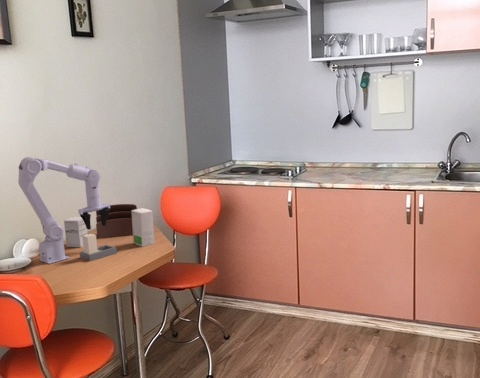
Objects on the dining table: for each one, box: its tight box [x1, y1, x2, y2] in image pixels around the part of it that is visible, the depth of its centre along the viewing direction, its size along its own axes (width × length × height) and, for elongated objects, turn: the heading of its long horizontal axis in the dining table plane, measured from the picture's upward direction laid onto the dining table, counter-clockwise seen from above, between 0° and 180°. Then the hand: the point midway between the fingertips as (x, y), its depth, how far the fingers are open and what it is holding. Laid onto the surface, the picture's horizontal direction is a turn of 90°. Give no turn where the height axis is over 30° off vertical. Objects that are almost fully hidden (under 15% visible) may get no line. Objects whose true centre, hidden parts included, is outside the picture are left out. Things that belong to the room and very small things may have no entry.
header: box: [79, 244, 118, 262], centre depth 229 cm, size 13×8×3 cm, turn 137°
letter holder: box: [95, 203, 138, 239], centre depth 262 cm, size 10×20×14 cm, turn 102°
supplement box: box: [63, 216, 88, 248], centre depth 246 cm, size 7×7×13 cm
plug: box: [82, 233, 98, 253], centre depth 225 cm, size 4×4×7 cm
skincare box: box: [131, 207, 155, 247], centre depth 242 cm, size 8×7×16 cm
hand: (96, 227), depth 235 cm, fingers open, 7 cm apart
